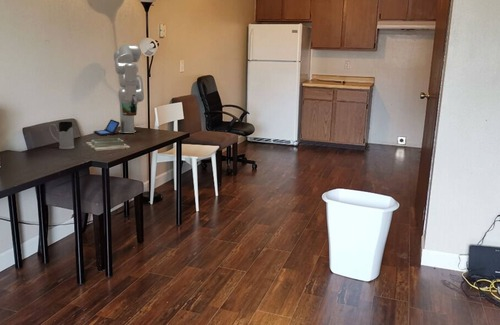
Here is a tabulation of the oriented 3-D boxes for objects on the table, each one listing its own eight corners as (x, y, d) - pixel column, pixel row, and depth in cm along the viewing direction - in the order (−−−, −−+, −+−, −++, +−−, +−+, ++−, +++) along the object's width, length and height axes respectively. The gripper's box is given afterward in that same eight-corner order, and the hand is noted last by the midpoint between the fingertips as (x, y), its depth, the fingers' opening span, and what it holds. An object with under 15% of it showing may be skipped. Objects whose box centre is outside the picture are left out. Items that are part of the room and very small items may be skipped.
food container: (126, 116, 290) (126, 100, 287) (120, 115, 293) (120, 99, 291) (142, 115, 299) (142, 99, 297) (136, 114, 303) (136, 98, 301)
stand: (86, 144, 286) (86, 138, 285) (118, 141, 297) (117, 136, 296) (96, 151, 268) (96, 145, 267) (129, 148, 279) (129, 142, 278)
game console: (92, 133, 324) (92, 120, 321) (111, 131, 332) (111, 119, 330) (101, 136, 312) (100, 123, 310) (120, 135, 320) (120, 122, 318)
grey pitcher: (70, 149, 270) (69, 124, 266) (47, 148, 271) (45, 122, 267) (77, 146, 278) (75, 121, 275) (54, 145, 279) (52, 120, 275)
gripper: (120, 82, 297) (121, 110, 301) (129, 84, 283) (130, 113, 287) (131, 82, 301) (132, 109, 305) (141, 84, 287) (141, 113, 292)
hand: (131, 111), depth 296 cm, fingers closed on food container, 5 cm apart
